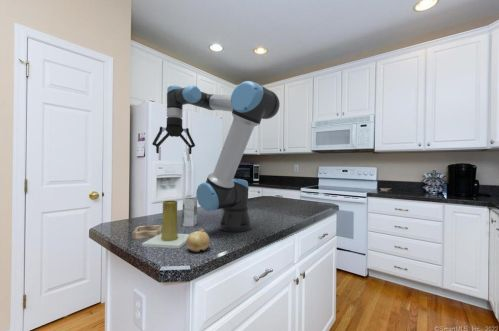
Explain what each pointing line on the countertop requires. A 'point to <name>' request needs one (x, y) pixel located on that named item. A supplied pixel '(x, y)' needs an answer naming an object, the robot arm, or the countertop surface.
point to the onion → (198, 241)
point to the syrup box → (189, 211)
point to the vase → (169, 221)
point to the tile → (166, 242)
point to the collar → (146, 231)
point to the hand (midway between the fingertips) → (174, 160)
